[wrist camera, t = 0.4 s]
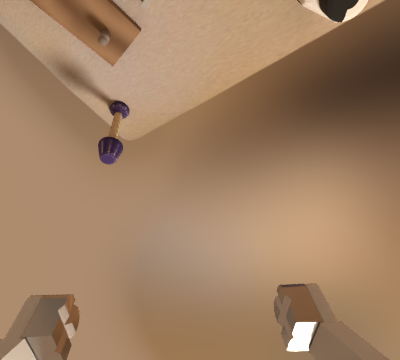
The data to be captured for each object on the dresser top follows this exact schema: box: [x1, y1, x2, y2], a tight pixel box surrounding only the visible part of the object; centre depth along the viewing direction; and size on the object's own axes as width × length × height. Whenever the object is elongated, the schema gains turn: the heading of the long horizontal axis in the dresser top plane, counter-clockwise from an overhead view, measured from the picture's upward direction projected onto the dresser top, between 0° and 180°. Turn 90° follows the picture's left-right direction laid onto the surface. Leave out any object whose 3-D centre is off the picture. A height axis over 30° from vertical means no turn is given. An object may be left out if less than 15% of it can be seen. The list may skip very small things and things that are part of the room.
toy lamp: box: [98, 102, 129, 164], centre depth 55 cm, size 5×5×17 cm
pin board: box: [30, 0, 141, 66], centre depth 43 cm, size 9×20×6 cm, turn 44°
